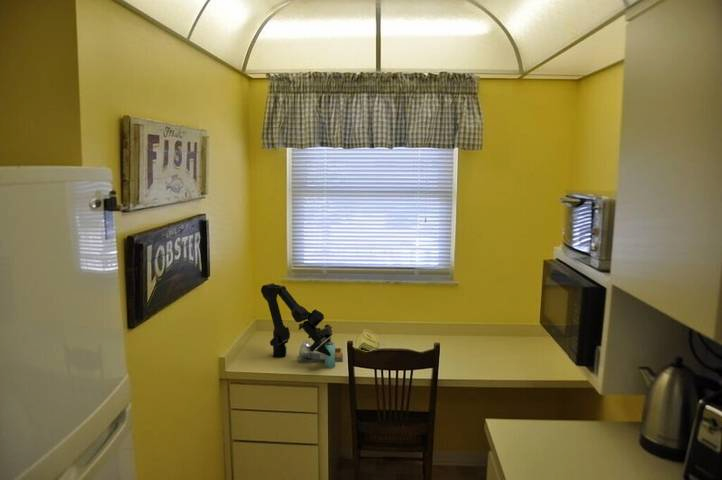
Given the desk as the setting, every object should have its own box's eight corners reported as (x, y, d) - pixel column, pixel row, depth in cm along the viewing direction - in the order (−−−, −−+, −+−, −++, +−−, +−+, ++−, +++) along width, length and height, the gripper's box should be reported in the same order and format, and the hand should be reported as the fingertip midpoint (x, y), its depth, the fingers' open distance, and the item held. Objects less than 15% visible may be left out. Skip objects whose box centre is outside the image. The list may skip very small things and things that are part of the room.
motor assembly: (298, 362, 267) (298, 346, 266) (299, 355, 278) (299, 339, 277) (342, 361, 268) (342, 346, 267) (342, 354, 279) (342, 339, 278)
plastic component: (377, 348, 282) (361, 340, 281) (371, 359, 283) (355, 352, 283) (378, 334, 301) (363, 327, 301) (372, 345, 303) (357, 338, 302)
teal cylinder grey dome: (324, 367, 259) (324, 344, 258) (324, 364, 265) (324, 340, 263) (334, 367, 260) (334, 344, 258) (335, 364, 265) (334, 340, 263)
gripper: (315, 326, 251) (336, 350, 250) (329, 316, 269) (348, 338, 267) (300, 340, 255) (321, 363, 253) (315, 329, 273) (334, 351, 271)
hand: (332, 353), depth 261 cm, fingers closed on teal cylinder grey dome, 5 cm apart
